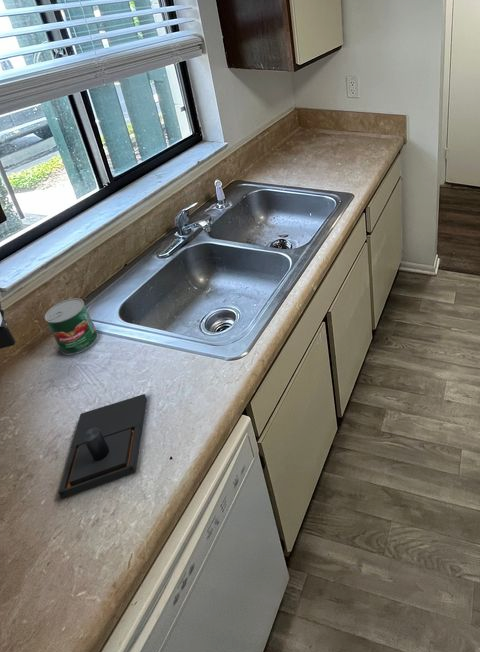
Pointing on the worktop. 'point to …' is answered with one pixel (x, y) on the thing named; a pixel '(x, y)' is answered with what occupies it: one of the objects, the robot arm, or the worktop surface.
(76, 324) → the canned tomato
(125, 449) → the black pad
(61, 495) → the base pad
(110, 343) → the worktop surface
